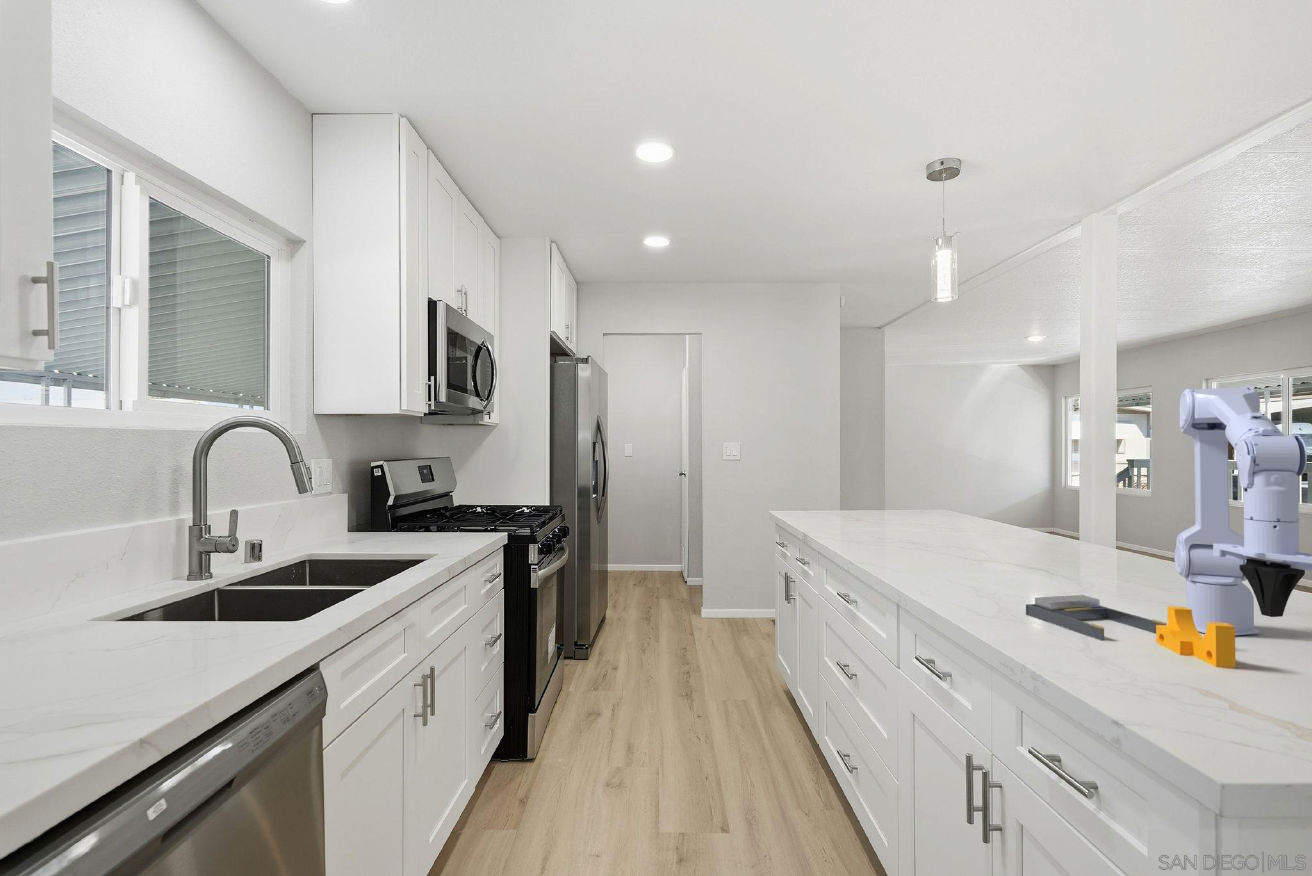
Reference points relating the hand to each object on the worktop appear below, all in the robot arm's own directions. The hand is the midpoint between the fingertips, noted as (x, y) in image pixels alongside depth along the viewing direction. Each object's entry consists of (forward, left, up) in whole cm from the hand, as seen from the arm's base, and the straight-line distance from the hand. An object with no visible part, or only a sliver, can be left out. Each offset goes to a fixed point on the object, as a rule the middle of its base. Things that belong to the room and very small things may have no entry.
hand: (1272, 615), depth 92 cm
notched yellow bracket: (-1, -12, -10) cm, 16 cm away
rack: (0, -30, -9) cm, 32 cm away
